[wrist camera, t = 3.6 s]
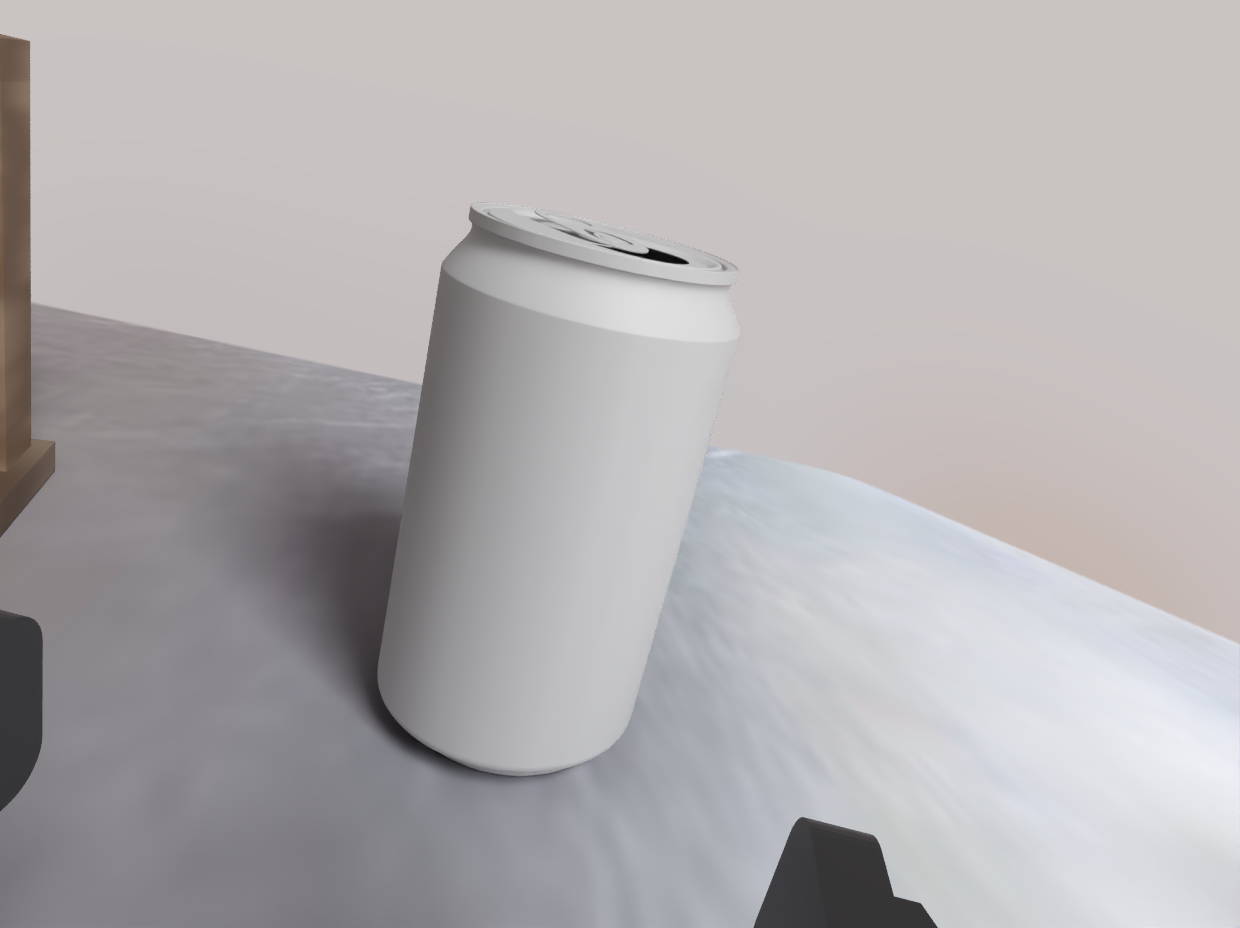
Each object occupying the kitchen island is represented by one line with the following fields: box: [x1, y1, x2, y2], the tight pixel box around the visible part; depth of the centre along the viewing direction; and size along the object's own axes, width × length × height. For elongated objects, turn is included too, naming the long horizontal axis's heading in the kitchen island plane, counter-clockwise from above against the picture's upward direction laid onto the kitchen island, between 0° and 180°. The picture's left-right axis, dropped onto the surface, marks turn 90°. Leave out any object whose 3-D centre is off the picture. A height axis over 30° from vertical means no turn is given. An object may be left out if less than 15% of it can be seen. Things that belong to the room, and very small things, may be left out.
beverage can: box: [377, 202, 740, 776], centre depth 20 cm, size 6×6×12 cm
